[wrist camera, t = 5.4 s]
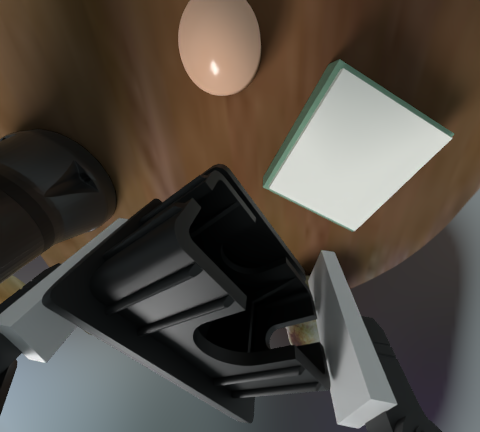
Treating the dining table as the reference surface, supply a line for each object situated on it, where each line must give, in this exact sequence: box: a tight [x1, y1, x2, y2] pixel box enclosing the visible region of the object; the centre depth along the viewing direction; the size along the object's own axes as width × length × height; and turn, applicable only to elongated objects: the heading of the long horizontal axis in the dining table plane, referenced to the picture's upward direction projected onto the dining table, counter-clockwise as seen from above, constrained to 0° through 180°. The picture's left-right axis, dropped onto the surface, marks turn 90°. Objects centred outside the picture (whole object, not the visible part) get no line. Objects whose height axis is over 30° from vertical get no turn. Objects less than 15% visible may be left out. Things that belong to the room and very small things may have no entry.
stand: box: [263, 59, 454, 232], centre depth 21 cm, size 13×13×4 cm
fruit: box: [286, 276, 321, 346], centre depth 31 cm, size 10×9×12 cm
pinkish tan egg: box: [178, 0, 261, 96], centre depth 18 cm, size 7×7×4 cm
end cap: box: [42, 164, 331, 423], centre depth 10 cm, size 10×7×7 cm
